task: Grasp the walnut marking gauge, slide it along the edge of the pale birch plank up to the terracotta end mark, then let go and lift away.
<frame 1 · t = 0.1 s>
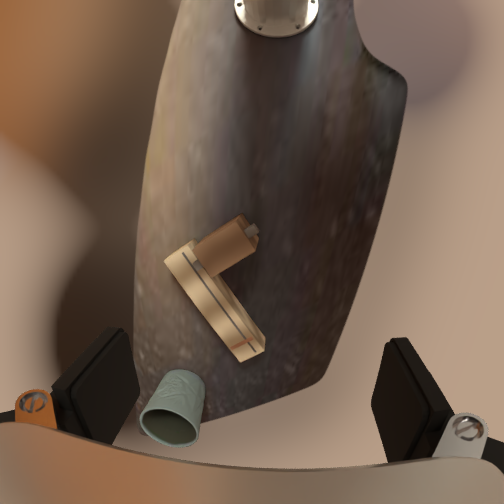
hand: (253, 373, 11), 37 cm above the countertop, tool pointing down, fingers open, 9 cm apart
guide plank: (219, 297, 51), on the countertop
marking gauge: (231, 238, 48), on the countertop
green cup: (185, 385, 57), on the countertop
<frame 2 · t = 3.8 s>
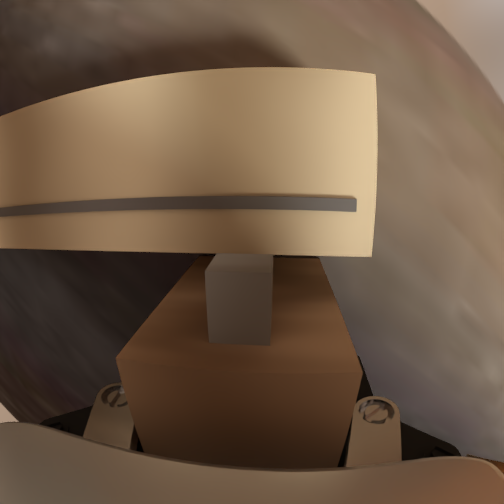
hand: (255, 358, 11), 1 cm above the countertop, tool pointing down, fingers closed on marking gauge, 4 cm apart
guide plank: (87, 170, 12), on the countertop
marking gauge: (258, 338, 13), on the countertop, touching gripper
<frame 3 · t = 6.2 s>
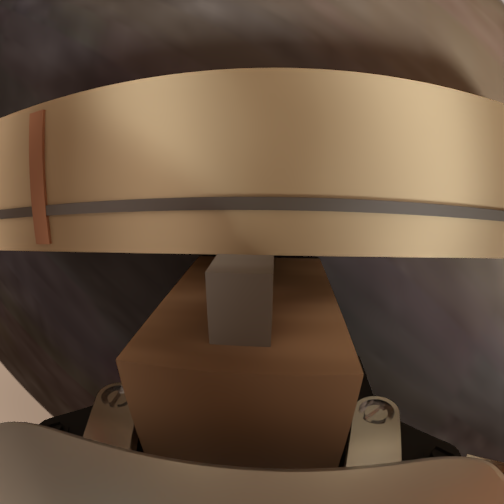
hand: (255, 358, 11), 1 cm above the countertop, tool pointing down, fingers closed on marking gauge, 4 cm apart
guide plank: (281, 161, 11), on the countertop
marking gauge: (258, 339, 13), on the countertop, touching gripper
when the fingers open (1 cm above the countertop, at t = 8.7 s): marking gauge stays where it is, on the countertop.
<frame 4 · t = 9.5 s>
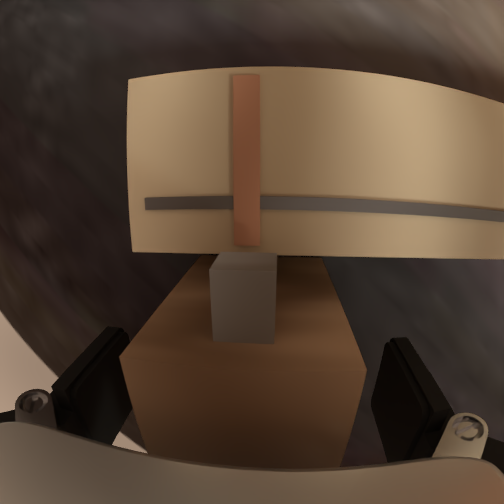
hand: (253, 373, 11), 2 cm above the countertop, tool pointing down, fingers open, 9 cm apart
guide plank: (439, 172, 10), on the countertop
marking gauge: (259, 337, 13), on the countertop
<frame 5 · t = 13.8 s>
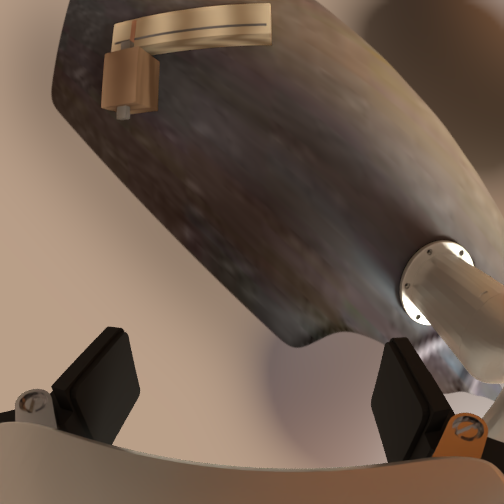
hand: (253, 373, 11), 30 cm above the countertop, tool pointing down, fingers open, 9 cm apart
guide plank: (194, 35, 34), on the countertop
marking gauge: (143, 88, 36), on the countertop
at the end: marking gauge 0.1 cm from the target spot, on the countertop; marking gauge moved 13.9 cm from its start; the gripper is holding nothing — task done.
